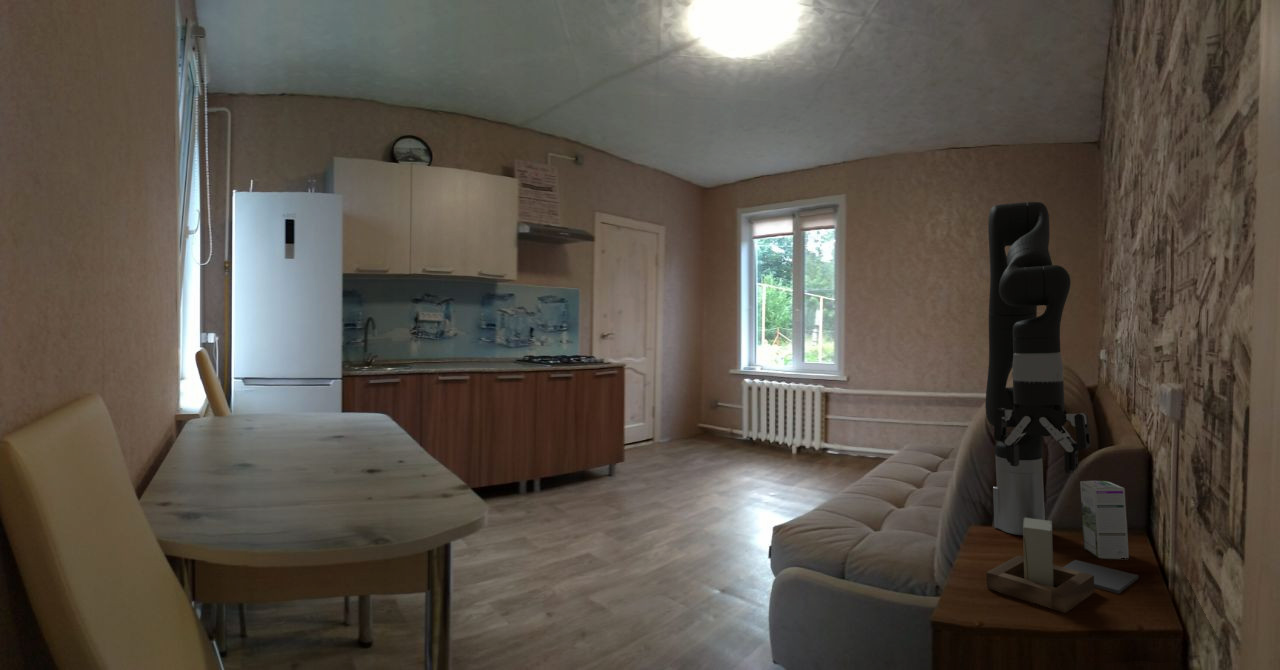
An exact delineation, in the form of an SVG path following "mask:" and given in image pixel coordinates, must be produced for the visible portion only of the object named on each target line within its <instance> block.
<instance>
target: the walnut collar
mask: <svg viewBox="0 0 1280 670" xmlns="http://www.w3.org/2000/svg"><path fill="white" fill-rule="evenodd" d="M985 574H986V575H985V576H986V589H987V588H988V589H987V590H990V589H991V591H993V590H994V592H996V591H997V593H999V594H1002V595H1007V596H1009V597H1014V598H1016V599H1019V600H1022V601H1025V600H1026V602H1028V601H1030V602H1029V603H1032V602H1033V603H1032V604H1035V603H1037V604H1036V605H1038V604H1040V605H1039V606H1041V605H1042V606H1041V607H1044V606H1045V607H1044V608H1047V607H1048V609H1051V610H1054V611H1057V612H1060V613H1064V614H1066V613H1068V612H1069V611H1070V610H1072V609H1073V608H1075V607H1076V606H1078V605H1079V604H1080V603H1082V602H1083V601H1085V600H1086V599H1087V598H1088V597H1090V596H1091V595H1093V594H1095V587H1094V575H1091V574H1087V573H1083V572H1079V571H1075V570H1071V569H1068V568H1064V566H1059V565H1056V564H1053V582H1054V586H1056V587H1051V586H1048V585H1044V584H1041V583H1037V582H1034V581H1031V580H1027V579H1024V578H1023V577H1024V556H1021V555H1016V556H1015V557H1014V556H1013V558H1010V559H1008V560H1006V561H1005V562H1003V563H1001V564H999V565H997V566H995V567H993V568H991V569H990V570H988V571H986V573H985Z"/></svg>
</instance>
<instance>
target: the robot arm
mask: <svg viewBox="0 0 1280 670" xmlns="http://www.w3.org/2000/svg"><path fill="white" fill-rule="evenodd" d="M987 224H988V227H987V228H988V230H987V231H988V233H987V234H988V249H989V251H988V252H989V253H988V255H989V273H990V278H989V281H990V283H989V301H988V370H987V378H986V379H987V381H986V390H985V402H984V403H985V404H984V405H985V415H986V419H987V421H988V423H989V425H991V426H993V427H994V429H993V431H994V432H993V438H994V440H995V441H996V443H995V446H994V454H995V458H994V459H995V474H996V476H995V477H996V486H993V488H992V497H993V498H992V499H993V521H994V522H993V523H994V528H995V529H998V530H1001V531H1002V532H1005V533H1008V534H1011V535H1015V536H1016V535H1017V536H1022V537H1023V521H1024V518H1025V517H1026V518H1033V519H1041V520H1046V512H1045V491H1044V490H1045V488H1044V469H1043V468H1044V467H1043V444H1044V443H1043V441H1044V440H1043V437H1050V436H1052V437H1053V438H1054V440H1055V441H1057V443H1059V444H1060V446H1061V447H1062V448H1064V450H1065V451H1064V453H1063V454H1064V456H1063V457H1064V471H1065V474H1068V475H1069V474H1070V475H1071V474H1073V473H1074V472H1075V471H1077V470H1078V468H1079V456H1078V455H1079V454H1078V453H1079V451H1083V450H1086V449H1088V448H1090V447H1091V446H1092V444H1091V434H1090V427H1089V418H1088V417H1089V416H1088V414H1087V413H1086V412H1080V413H1068V412H1067V411H1066V409H1065V388H1064V387H1065V384H1064V381H1065V380H1064V366H1063V365H1064V364H1063V360H1062V355H1061V354H1062V353H1061V324H1062V323H1061V322H1062V317H1063V311H1064V308H1065V305H1066V302H1067V299H1068V295H1069V293H1070V289H1071V282H1072V281H1071V277H1070V274H1069V272H1068V271H1067V269H1066V268H1064V267H1063V266H1061V265H1058V264H1057V265H1055V264H1053V262H1052V258H1051V254H1050V252H1049V244H1050V214H1049V211H1048V208H1047V206H1046V205H1045V204H1044V203H1042V202H1040V201H1027V202H1016V203H1015V202H1013V203H1005V204H1004V203H1003V204H1002V203H1001V204H995V205H993V207H991V209H990V211H989V215H988V223H987ZM1006 247H1009V248H1008V250H1007V251H1008V252H1007V253H1006ZM1038 306H1039V307H1040V306H1041V307H1042V306H1046V308H1045V310H1044V312H1043V313H1042V314H1040V315H1039V316H1038V315H1037V313H1038V312H1037V311H1038ZM1010 373H1011V377H1012V387H1010V386H1009V387H1007V382H1008V379H1009V375H1010ZM1067 421H1069V422H1070V424H1071V426H1073V427H1074V428H1075V436H1076V441H1075V440H1074V439H1073V438H1072V437H1071V434H1070V433H1069V432H1068V430H1066V429H1065V427H1064V425H1065V424H1066V423H1067ZM1008 428H1013V429H1012V431H1010V434H1009V435H1008V434H1007V429H1008Z"/></svg>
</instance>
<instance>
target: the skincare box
mask: <svg viewBox="0 0 1280 670" xmlns="http://www.w3.org/2000/svg"><path fill="white" fill-rule="evenodd" d="M1022 539H1023V540H1022V542H1023V557H1024V579H1027V580H1031V581H1034V582H1037V583H1041V584H1044V585H1048V586H1051V587H1054V586H1055V585H1054V582H1053V565H1054V553H1053V552H1054V550H1053V547H1054V546H1053V521H1052V520H1046V519H1045V520H1041V519H1033V518H1026V517H1025V518H1024V521H1023V536H1022Z"/></svg>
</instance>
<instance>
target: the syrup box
mask: <svg viewBox="0 0 1280 670" xmlns="http://www.w3.org/2000/svg"><path fill="white" fill-rule="evenodd" d="M1079 485H1080V501H1081V502H1080V505H1081V518H1082V521H1081V522H1082V539H1083V549H1084V550H1085V551H1087V552H1089V553H1090V554H1092V555H1093V556H1095V557H1096V558H1099V559H1103V560H1104V559H1105V560H1122V559H1121V558H1125V559H1124V560H1127V559H1126V558H1129V559H1130V557H1129V555H1130V554H1129V540H1128V539H1129V537H1128V520H1127V507H1126V506H1127V505H1126V504H1127V503H1126V488H1125V487H1123V486H1120V485H1119V484H1115V483H1113V482H1111V481H1109V480H1083V481H1082V480H1080V482H1079Z"/></svg>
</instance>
